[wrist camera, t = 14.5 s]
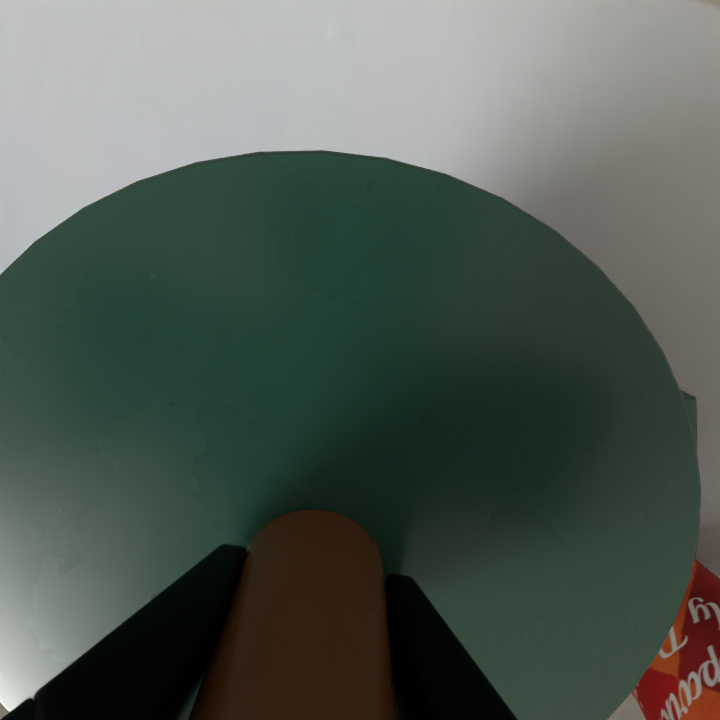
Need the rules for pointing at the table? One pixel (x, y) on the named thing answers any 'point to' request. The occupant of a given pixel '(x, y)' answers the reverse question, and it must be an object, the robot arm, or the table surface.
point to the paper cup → (687, 658)
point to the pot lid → (338, 438)
